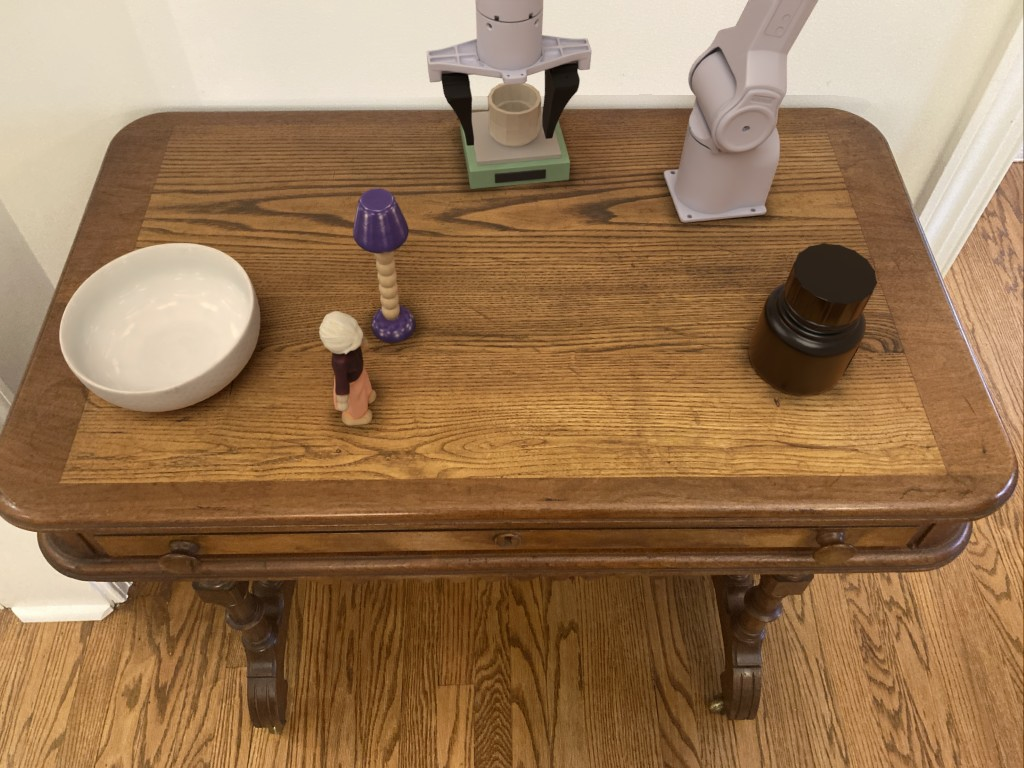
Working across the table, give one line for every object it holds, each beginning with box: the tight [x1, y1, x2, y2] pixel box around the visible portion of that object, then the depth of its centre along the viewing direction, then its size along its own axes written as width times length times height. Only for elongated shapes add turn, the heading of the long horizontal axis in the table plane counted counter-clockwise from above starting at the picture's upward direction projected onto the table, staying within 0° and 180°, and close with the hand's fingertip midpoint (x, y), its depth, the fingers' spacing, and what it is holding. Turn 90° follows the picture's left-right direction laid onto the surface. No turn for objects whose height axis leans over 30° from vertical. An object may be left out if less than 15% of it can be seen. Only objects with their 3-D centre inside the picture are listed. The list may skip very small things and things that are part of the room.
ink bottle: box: [748, 242, 878, 397], centre depth 76 cm, size 10×9×12 cm
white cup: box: [487, 82, 542, 147], centre depth 93 cm, size 6×6×5 cm
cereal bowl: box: [58, 242, 262, 413], centre depth 77 cm, size 17×17×7 cm
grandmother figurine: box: [318, 310, 377, 427], centre depth 72 cm, size 8×4×13 cm, turn 5°
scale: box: [459, 106, 571, 190], centre depth 96 cm, size 11×10×3 cm
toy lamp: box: [352, 187, 417, 344], centre depth 76 cm, size 5×5×17 cm
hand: (508, 135), depth 83 cm, fingers open, 7 cm apart
